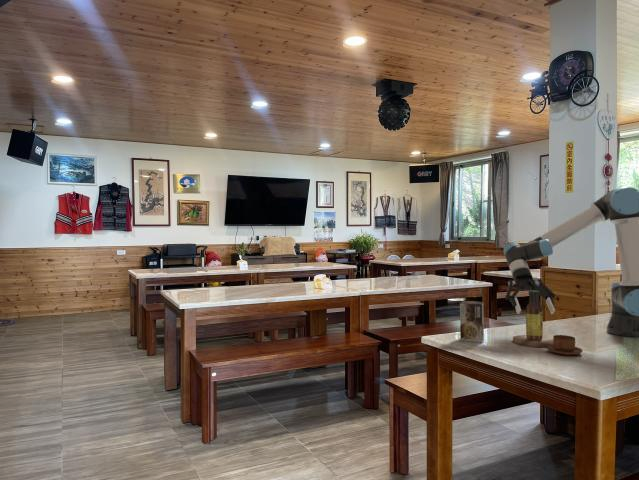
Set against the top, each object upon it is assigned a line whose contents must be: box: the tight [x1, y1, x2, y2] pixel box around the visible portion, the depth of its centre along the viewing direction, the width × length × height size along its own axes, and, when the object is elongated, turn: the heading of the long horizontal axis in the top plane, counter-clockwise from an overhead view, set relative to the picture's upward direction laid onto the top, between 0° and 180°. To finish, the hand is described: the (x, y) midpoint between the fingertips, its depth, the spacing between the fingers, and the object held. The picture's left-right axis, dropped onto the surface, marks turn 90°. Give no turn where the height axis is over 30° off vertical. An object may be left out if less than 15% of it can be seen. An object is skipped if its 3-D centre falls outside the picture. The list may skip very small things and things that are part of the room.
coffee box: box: [459, 300, 485, 343], centre depth 197 cm, size 9×6×16 cm
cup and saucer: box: [546, 334, 583, 356], centre depth 176 cm, size 12×12×6 cm
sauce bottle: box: [525, 290, 544, 340], centre depth 192 cm, size 6×6×20 cm
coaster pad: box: [512, 334, 553, 349], centre depth 192 cm, size 16×16×2 cm
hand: (536, 312), depth 190 cm, fingers open, 13 cm apart
